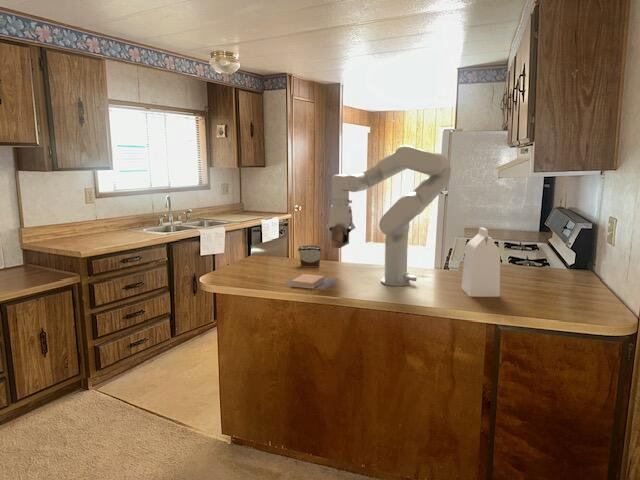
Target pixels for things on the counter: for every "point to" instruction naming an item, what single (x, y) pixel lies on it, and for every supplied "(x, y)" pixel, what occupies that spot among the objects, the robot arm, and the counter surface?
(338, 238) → the pusher block
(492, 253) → the milk
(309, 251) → the food container
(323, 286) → the mat
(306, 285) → the tile
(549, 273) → the counter surface
